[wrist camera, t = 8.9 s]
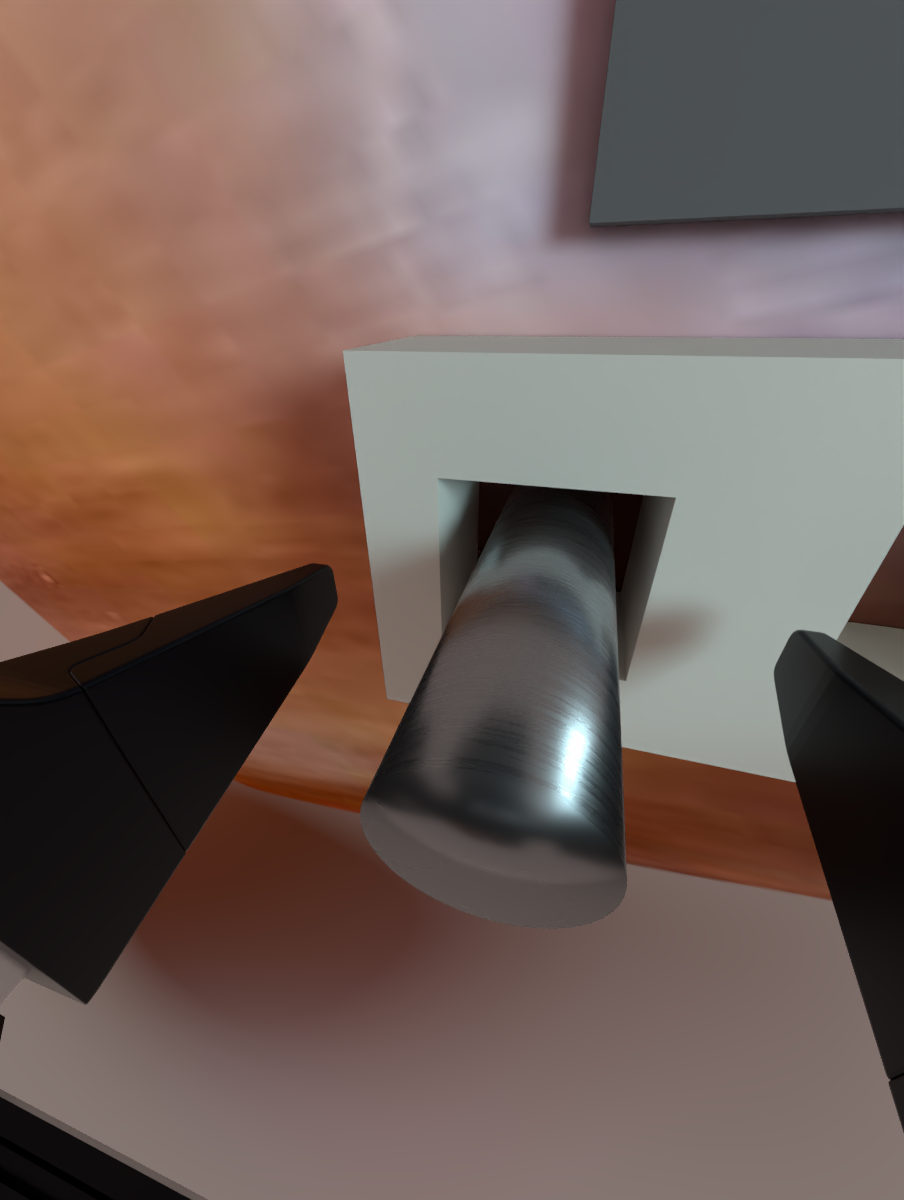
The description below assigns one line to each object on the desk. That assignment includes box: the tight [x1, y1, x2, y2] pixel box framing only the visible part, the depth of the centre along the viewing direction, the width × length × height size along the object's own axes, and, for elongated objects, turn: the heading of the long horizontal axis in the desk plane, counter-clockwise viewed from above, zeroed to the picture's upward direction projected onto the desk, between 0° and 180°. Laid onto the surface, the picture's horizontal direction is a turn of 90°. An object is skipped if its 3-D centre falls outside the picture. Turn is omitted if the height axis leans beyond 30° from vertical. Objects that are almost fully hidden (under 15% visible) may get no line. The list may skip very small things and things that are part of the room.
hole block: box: [343, 336, 904, 782], centre depth 11 cm, size 16×9×4 cm, turn 90°
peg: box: [360, 484, 627, 929], centre depth 9 cm, size 3×3×10 cm
